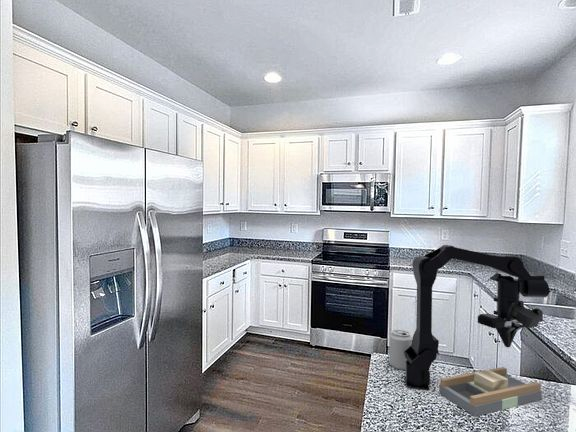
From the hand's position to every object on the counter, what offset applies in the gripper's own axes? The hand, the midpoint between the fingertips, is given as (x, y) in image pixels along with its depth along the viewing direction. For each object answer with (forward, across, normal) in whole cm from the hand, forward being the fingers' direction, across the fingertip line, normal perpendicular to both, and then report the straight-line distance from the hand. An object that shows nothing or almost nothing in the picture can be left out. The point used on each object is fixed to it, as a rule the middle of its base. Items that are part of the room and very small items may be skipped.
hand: (507, 346), depth 101 cm
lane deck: (+13, -9, -2) cm, 16 cm away
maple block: (+10, -9, -2) cm, 14 cm away
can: (+13, -21, +23) cm, 34 cm away
